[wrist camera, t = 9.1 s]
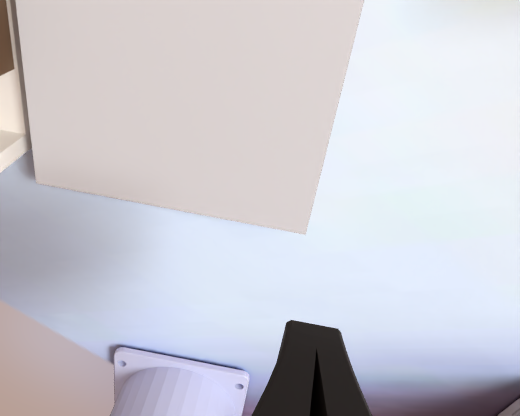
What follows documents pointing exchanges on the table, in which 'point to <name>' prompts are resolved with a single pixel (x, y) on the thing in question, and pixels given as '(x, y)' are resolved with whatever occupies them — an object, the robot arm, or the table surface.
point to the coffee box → (512, 409)
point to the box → (13, 101)
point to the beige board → (187, 100)
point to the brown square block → (5, 41)
